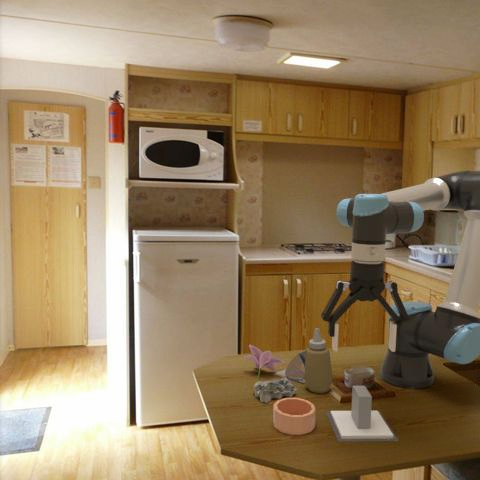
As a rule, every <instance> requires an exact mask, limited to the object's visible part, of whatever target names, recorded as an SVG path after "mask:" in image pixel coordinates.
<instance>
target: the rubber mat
mask: <svg viewBox="0 0 480 480" xmlns="http://www.w3.org/2000/svg"><path fill="white" fill-rule="evenodd" d="M378 412H379V414H380V415H381V417H382V418H383V420H384V421H385V423H386V424H387V426H388V428H389V429H390V431H391V432H392V434H393V435H394V436H393V439H341V437H340V434H339V432H338V430H337V427H336V425H335V423H334V421H333V418H332V416H331V414H330V413H331V411H325V413H326V416H327V419H328V420H329V424H330V425H331V428H332V430H333V432H334V435H335V437H336V440H337V442H341V443H342V442H343V443H344V442H400V441H399V439H398V437H397V436H396V434H395V432H394V431H393V429H392V428H391V426H390V425H389V423H388V421H387V420H386V419H385V417H384V415H383V413H382V412H381V411H378Z"/></svg>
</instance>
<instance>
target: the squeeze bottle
mask: <svg viewBox="0 0 480 480" xmlns="http://www.w3.org/2000/svg"><path fill="white" fill-rule="evenodd" d="M308 346H309V347H307V348H306V349H305V358H304V359H305V361H304V373H303V374H304V375H303V380H304V383H305V384H306V387H307V390H309V391H310V392H312V393H316V394H326V393H327V392H329V391H330V388H331V385H332V382H333V369H332V361H331V354H330V349H329V348H328V347H327V344H326V339H324V338H322V335H321V331H320V328H319V327H315V328H314V332H313V337H312V338H311V339H309V340H308Z"/></svg>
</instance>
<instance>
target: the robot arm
mask: <svg viewBox="0 0 480 480" xmlns="http://www.w3.org/2000/svg"><path fill="white" fill-rule="evenodd" d="M427 210H432V211H440V210H456V211H457V210H458V211H464V212H463V215H464V216H465V217H466V219H467V222H466V225H465V229H464V234H463V236H462V240H461V244H460V247H459V250H458V253H457V257H456V260H455V264H454V268H453V271H452V274H451V278H450V281H449V284H448V288H447V292H446V294H445V299H444V300H443V302H441V303H439V304H437V305H436V309H435V311H433V307H432V304H431V303H428V302H424V301H423V302H422V301H405V302H403V301H402V299H401V296H400V293H399V292H398V291H399V289H398V284H397V282H395V281H393V280H390V281H387V282H384V279H385V278H384V277H385V263H384V262H383V261H385V260H386V259H385V257H386V256H385V255H386V239H387V235H391V234H392V235H394V234H395V235H396V234H409V233H412V232H413V233H414V232H416V231H418V230H419V229H420V228H421V227H422V226H423V223H424V220H425V213H424V211H427ZM335 214H336V219H337V221H338V223H340V225H342V226H343V227H349V228H352V236H351V237H352V239H351V241H352V242H351V251H350V252H351V253H350V254H351V259H352V261H351V262H350V275H349V281H347V282H346V281H341V279H340V280H336V282H335V288H334V291H333V293H332V294H331V296H330V298H329V299H328V302H327V304H326V305H325V307H324V309H323V310H322V312H321V314H320V317H321V319H322V320H323V321H324V322H327V323H328V326H327V327H328V330H327V331H328V332H327V333H328V336H329V337H331V348H332V351H333V352H339V351H338V348H339V347H338V346H339V330H340V329H339V327H340V326H339V323H338V322H337V321H338V320H339V319H340V318H341V317H342V316H343V315H344V314H345V313H346V312H347V311H348V309H349V308H350V307H352V306H353V305H354V303H356V302H357V301H359V302H366V301H368V302H374V301H378V303H379V304H380V305H381V306H382V308H383V309H384V311H385V312H386V313H387V314H388V315H389V316H388V334H387V335H388V338H387V339H388V341H387V352H386V355H385V357H384V358H383V362H382V365H381V366H380V378H381V379H382V380H383V381H384V382H387V383H389V384H391V385H393V386H398V387H401V388H406V389H423V388H424V389H425V388H429V387H430V386H432V385H433V384H434V378H435V376H434V375H435V373H434V370H433V366H432V362H431V360H430V355H433V356H436V357H438V358H441V359H444V360H446V361H448V362H452V363H456V364H459V365H467V364H469V363H472V362H473V361H474V360H475V359H477V358H478V357H479V356H480V313H479V307H480V170H460V171H455V172H450V173H446V174H443V175H439V176H435V177H431V178H429V179H426V180H425V181H424V183H421V184H417V185H412V186H408V187H404V188H399V189H395V190H392V191H387V192H382V193H358V194H356V195H355V197H351V198H344V199H342V200H341V201H340V202H339V203H338V205H337V207H336V212H335ZM347 289H349V291H350V292H349V293H348V295H346V298H345V299H344V300H343V301H342V302H341V303H340V304H339V305H338V306H337V304H338V302H339V301H340V299H341V297H342V295H343V292H346V290H347ZM385 289H386V290H387V291H388V292H389V294H390V297H391V298H392V300H393V305H390V304H389V303H388V302H387V301H386V300H385V299H386V298H384V297H383V296H382V293H383V292H384V290H385ZM336 306H337V307H336ZM335 307H336V308H335ZM334 309H335V310H334ZM429 354H430V355H429Z"/></svg>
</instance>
